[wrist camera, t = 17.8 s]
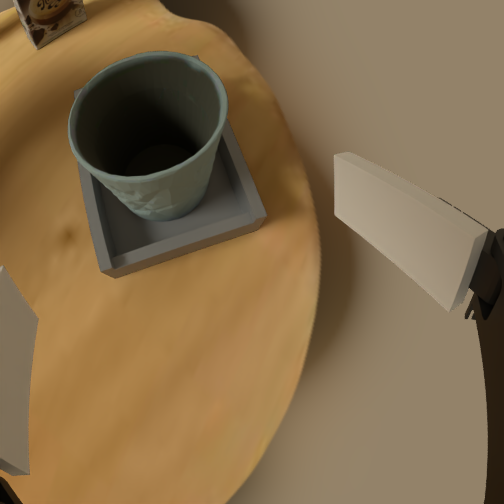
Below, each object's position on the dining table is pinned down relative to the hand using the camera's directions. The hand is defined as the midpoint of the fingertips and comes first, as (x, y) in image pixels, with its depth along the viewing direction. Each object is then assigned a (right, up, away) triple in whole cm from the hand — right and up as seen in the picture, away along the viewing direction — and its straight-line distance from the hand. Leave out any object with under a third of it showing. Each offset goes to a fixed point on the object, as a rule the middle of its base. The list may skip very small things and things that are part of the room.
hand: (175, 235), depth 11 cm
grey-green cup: (-6, +6, +18) cm, 20 cm away
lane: (-6, +7, +19) cm, 21 cm away
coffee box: (-27, +34, +21) cm, 48 cm away
